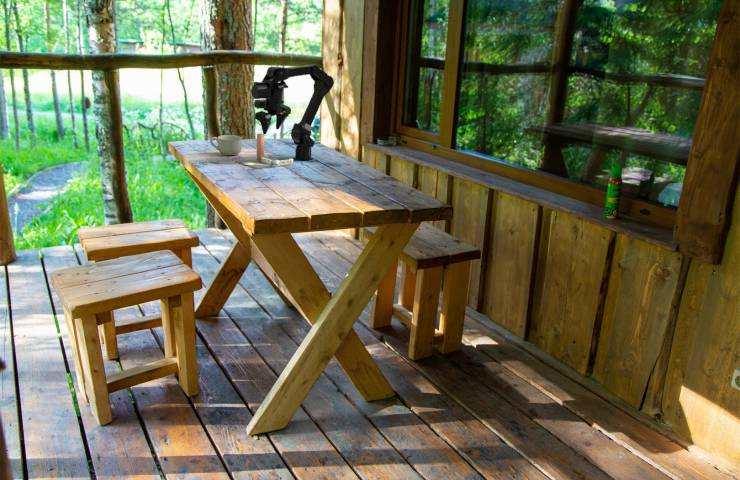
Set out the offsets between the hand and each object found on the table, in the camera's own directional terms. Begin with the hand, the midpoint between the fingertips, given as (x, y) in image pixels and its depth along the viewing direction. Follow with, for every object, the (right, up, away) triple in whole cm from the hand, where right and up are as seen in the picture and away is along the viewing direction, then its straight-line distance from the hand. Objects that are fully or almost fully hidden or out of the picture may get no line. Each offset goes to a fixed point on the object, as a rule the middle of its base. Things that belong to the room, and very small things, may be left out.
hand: (270, 131), depth 260 cm
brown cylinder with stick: (-1, -14, -7) cm, 16 cm away
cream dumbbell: (+7, -16, -7) cm, 18 cm away
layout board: (-2, -14, -5) cm, 15 cm away
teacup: (-21, -9, +9) cm, 25 cm away
